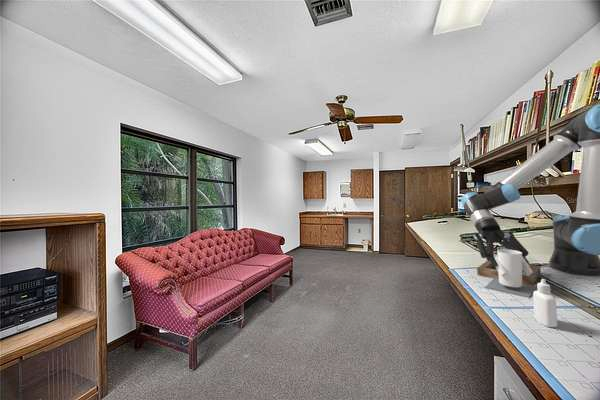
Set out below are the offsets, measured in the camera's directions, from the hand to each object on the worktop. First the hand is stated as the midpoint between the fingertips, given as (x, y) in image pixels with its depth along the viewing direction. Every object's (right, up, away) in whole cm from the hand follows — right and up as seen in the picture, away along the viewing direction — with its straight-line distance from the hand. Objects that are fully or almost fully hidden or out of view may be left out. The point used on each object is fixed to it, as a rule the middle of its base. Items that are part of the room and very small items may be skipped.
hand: (516, 274), depth 83 cm
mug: (+1, -5, +3) cm, 6 cm away
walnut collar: (+11, -5, +16) cm, 20 cm away
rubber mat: (+1, -6, +3) cm, 7 cm away
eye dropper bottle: (-9, -8, -19) cm, 22 cm away
